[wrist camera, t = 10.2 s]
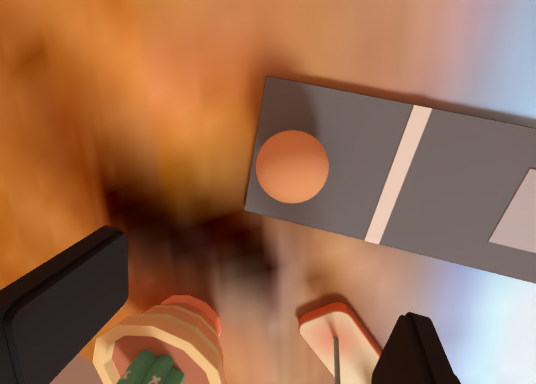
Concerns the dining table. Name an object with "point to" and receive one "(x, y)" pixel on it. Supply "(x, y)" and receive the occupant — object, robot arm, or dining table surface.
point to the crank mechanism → (341, 343)
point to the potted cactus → (163, 346)
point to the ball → (292, 166)
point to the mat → (410, 177)
